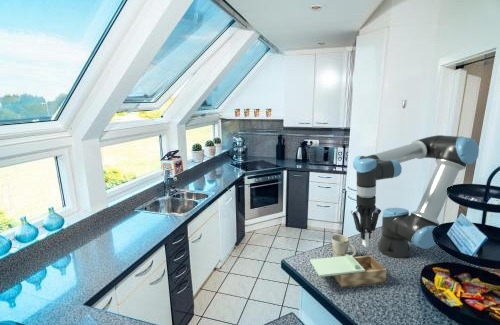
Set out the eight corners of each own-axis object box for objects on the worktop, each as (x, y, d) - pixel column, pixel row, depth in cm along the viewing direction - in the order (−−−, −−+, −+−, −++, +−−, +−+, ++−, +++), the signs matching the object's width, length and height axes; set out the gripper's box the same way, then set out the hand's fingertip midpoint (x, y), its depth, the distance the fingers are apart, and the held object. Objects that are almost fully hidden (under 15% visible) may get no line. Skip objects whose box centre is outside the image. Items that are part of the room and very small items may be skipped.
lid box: (370, 267, 126) (370, 255, 125) (385, 283, 114) (386, 269, 113) (330, 272, 124) (330, 259, 123) (341, 288, 112) (342, 274, 111)
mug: (335, 250, 143) (335, 233, 141) (359, 257, 135) (359, 239, 133) (329, 256, 137) (329, 239, 135) (353, 264, 129) (354, 245, 127)
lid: (351, 256, 124) (351, 252, 123) (364, 271, 112) (365, 266, 112) (310, 261, 122) (310, 256, 121) (319, 276, 110) (319, 271, 110)
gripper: (375, 190, 117) (374, 239, 121) (347, 193, 115) (347, 243, 120) (385, 196, 109) (384, 247, 114) (355, 199, 108) (355, 251, 113)
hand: (365, 245), depth 117 cm, fingers closed
